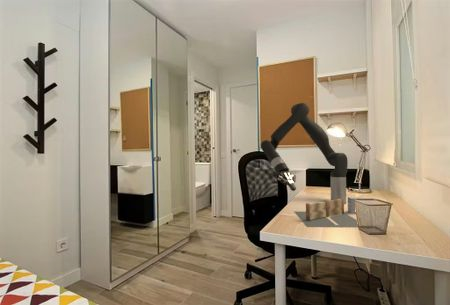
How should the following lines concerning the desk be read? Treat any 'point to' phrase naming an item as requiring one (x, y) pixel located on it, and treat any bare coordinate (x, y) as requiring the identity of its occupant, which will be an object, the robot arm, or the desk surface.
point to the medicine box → (352, 204)
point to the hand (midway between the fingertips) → (294, 189)
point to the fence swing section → (315, 210)
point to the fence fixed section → (334, 207)
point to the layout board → (329, 221)
